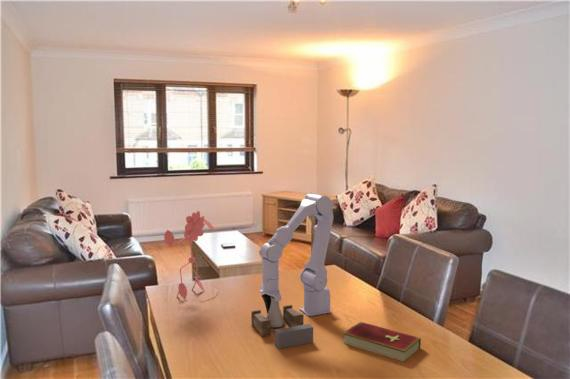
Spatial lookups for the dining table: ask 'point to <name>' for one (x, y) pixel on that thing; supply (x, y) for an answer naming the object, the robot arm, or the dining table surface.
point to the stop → (293, 336)
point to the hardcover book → (382, 341)
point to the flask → (275, 314)
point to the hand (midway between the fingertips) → (270, 314)
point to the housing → (265, 324)
